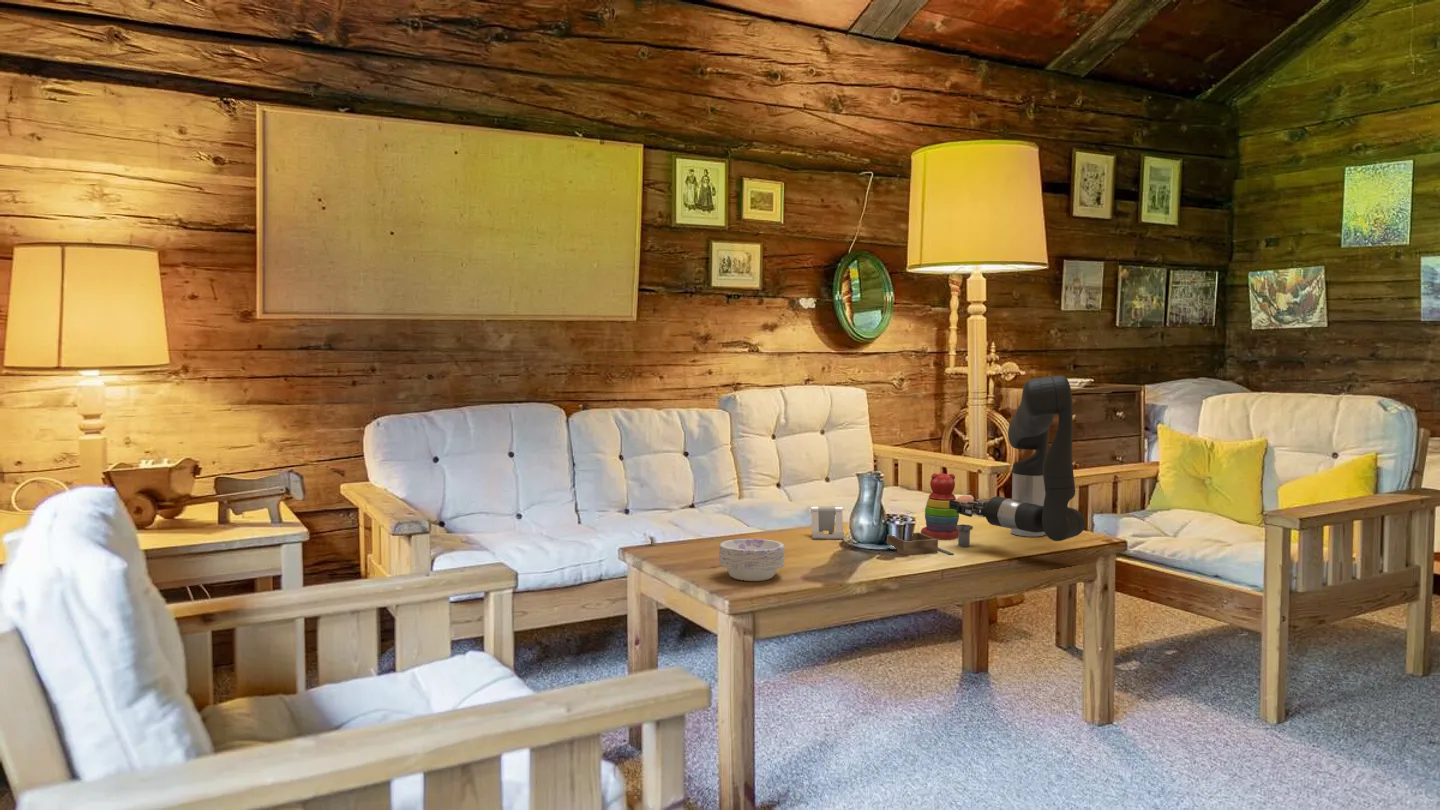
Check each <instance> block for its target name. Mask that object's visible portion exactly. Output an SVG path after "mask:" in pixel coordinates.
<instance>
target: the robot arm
mask: <svg viewBox="0 0 1440 810" xmlns="http://www.w3.org/2000/svg"><path fill="white" fill-rule="evenodd" d="M1021 392H1022V393H1021V401H1020V404H1019V405H1018V407H1017V410H1016V411H1015V412H1016V413H1015V415H1014V416H1013V417H1012V419H1011V421H1010V423H1009V424H1008V425H1009V426H1008V431H1007V439H1008V442H1009V444H1010V446H1011V447H1012V448H1013V449H1016V450H1029V451H1030V450H1033V451H1034V453H1033V454H1032V455H1031V456H1028V457H1027V458H1025V459H1022V460H1018V461H1015V462H1014V463H1013V464H1012V482H1011V483H1012V484H1011V485H1012V486H1011V489H1012V490H1011V498H1008V497H1003V496H992V497H991V498H990V499H986V498H981V499H979V498H976V499H973V498H972V499H973V501H974V502H973V501H970V502H968V503H965V502H958V501H953V500H951V501H949V508H950V509H954V510H957V513H959V515H963V516H965V517H968V518H971V517H973V516H975V517H976V516H977V517H979V518H985V519H986V521H987V522H988V523H989V525H991V526H996V527H1000V528H1004V529H1005V528H1006V529H1010V533H1011V534H1013V535H1016V536H1020V537H1044V536H1046V537H1047V538H1049V539H1050V540H1051V541H1054V542H1061V541H1065V540H1067V539H1071V538H1074V537H1077V536H1080V534H1082V533H1083V532H1084V530H1085V528H1086V520H1085V517H1084V515H1083V514H1082V513H1081V511H1079V510H1077V509H1075V508H1073V507H1069V502H1070V501H1071V500H1073V498H1074V497H1075V496H1076V486H1075V485H1076V484H1075V483H1076V482H1075V476H1074V467H1073V393H1072V389H1071V385H1070V382H1069V380H1068V378H1067V377H1066V376H1064V375H1052V376H1046V377H1035V378H1031V379H1029V380H1027V381H1026V382H1025V383H1024V385H1023V388H1022V391H1021ZM1055 415H1058V424H1057V425H1058V426H1057V430H1056V433H1055V435H1054V438H1053V439H1052V442H1051V444H1050V446H1049V439H1050V427H1051V425H1052V424H1053V421H1054V418H1055ZM972 504H974V505H973V509H972Z"/></svg>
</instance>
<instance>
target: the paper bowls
mask: <svg viewBox="0 0 1440 810" xmlns="http://www.w3.org/2000/svg"><path fill="white" fill-rule="evenodd" d="M785 550H786V548H785V544H784V543H783V542H780V541H778V540H772V539H764V538H737V539H736V538H735V539H730V540H724V541H722V542H720V543H719V553H718V555H719V557H718V558H719V562H718V563H719V565H720V567H723V568H726V569H727V573H728V574H729V576H730V577H731V578H733V579H735V580H737V581H738V580H739V581H743V580H744V581H743V582H763V581H767V580H770V579H772V578H773V577H774V576H775V575H776V573H777V570H778V569H780V568H783V567H784V566H785Z"/></svg>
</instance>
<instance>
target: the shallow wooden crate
mask: <svg viewBox="0 0 1440 810" xmlns="http://www.w3.org/2000/svg"><path fill="white" fill-rule="evenodd" d="M912 533H913V536H912V540H913V541H905V540H902V539H900V538H897V537H895V536H892V535H889V534H886V545H887V544H888V545H892V546H894V547H895V548H896V549H897V552H896V553H898V554H900V555H903V556H913V555H915V556H917V555H926V554H928V555H929V554H938V552H939V551H938V548H939V539H935V538H933V537H930V536H927V535H925V534H922V533H921V532H919V531H918V532H912Z"/></svg>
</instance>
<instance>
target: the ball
mask: <svg viewBox="0 0 1440 810" xmlns="http://www.w3.org/2000/svg"><path fill="white" fill-rule="evenodd" d="M956 499H957V500H956V501H958V502H965V503H968V502H970V501H973V498H972V497H971V496H969V495H966V494H963V495H960V496H958V498H956ZM973 502H974V501H973ZM973 505H974V504H972V509H973Z"/></svg>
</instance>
